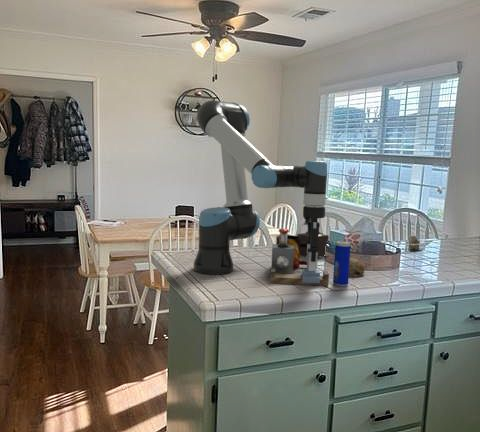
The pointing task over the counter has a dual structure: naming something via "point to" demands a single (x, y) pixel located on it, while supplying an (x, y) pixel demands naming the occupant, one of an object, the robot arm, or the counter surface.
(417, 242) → the architectural model
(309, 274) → the carriage
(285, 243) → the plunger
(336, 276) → the beverage can
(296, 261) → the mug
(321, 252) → the manual coffee grinder
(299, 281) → the rail
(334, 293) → the counter surface
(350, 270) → the bread roll
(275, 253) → the grey block
